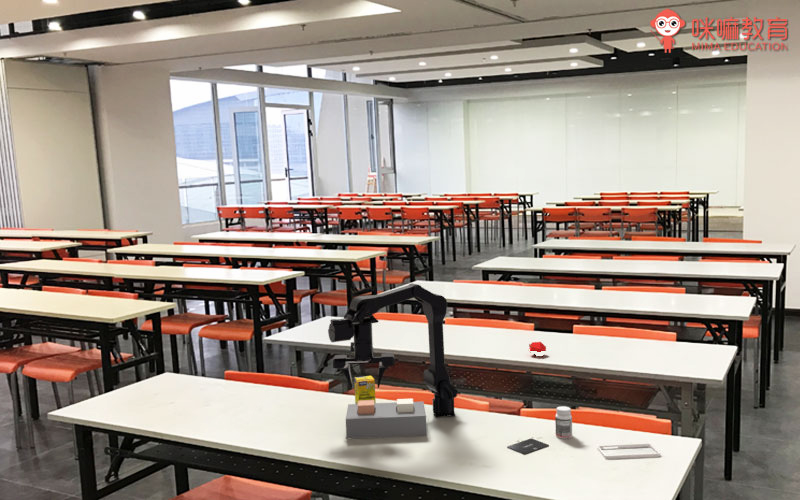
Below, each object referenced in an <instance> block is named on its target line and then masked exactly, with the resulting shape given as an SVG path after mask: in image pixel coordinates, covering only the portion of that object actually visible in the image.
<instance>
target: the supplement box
mask: <svg viewBox="0 0 800 500" xmlns="http://www.w3.org/2000/svg"><path fill="white" fill-rule="evenodd" d="M354 399H355V400H354V401H355V403H354V404H358V401H362V400H374V403H376V381H375V378H374V377H373V376H372V375H366V376H354Z"/></svg>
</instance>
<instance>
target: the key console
mask: <svg viewBox="0 0 800 500" xmlns="http://www.w3.org/2000/svg"><path fill="white" fill-rule="evenodd" d="M413 405H414V412H397V401H396V402H377V403H375V413H371V414H358V404H355V403H352V404H351V403H350V404H349V403H348V404H347V411H346V415H345V433H346V435H345V437H346V439H348V440H349V439H368V438H369V439H372V438H396V437H418V436H420V437H421V436H427V433H428V431H427V414H426V409H425V403H424V401H423V400H422V401H413Z"/></svg>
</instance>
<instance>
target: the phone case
mask: <svg viewBox="0 0 800 500" xmlns="http://www.w3.org/2000/svg"><path fill="white" fill-rule="evenodd" d="M614 447H617V448H618V449H626V448H627V449H628V448H629V449H630V448H650V449H653V450H655V452H654V453H632V454H613V455H611V454H606V453H604V451H603V450H604V449H605V448H614ZM596 449H597V451H598V453H600V454H601V456H602V457H603V458H604V459H607V460H615V459H616V460H617V459H618V460H619V459H637V458H657V457H658V458H659V457H661V452H660V451H659V450H658V449H656V447H654V446H653V445H652V444H651V443H635V444H634V443H630V444H611V445H610V444H609V445H605V444H604V445H597V446H596Z"/></svg>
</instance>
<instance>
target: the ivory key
mask: <svg viewBox="0 0 800 500" xmlns="http://www.w3.org/2000/svg"><path fill="white" fill-rule="evenodd" d="M396 402H397V412H414V405H413V402H414V398H397V399H396Z"/></svg>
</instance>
